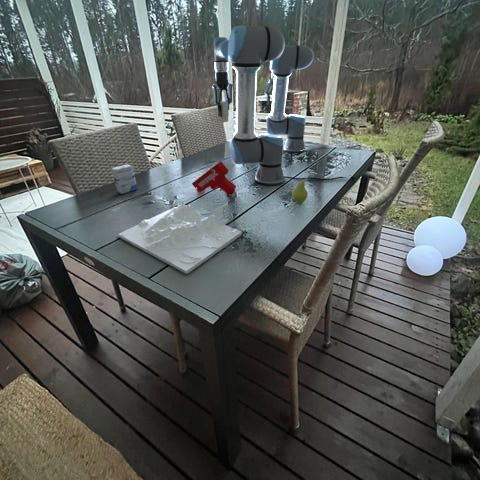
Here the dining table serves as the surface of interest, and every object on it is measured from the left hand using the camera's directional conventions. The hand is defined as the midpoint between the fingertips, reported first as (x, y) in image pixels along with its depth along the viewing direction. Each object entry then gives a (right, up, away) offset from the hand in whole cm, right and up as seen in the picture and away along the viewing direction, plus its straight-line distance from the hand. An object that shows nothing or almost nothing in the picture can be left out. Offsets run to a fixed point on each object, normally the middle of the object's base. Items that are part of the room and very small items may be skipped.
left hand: (223, 116), depth 166 cm
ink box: (-46, -51, -32) cm, 76 cm away
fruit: (+37, -59, -44) cm, 82 cm away
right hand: (+37, +29, +44) cm, 65 cm away
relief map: (-11, -75, -68) cm, 101 cm away
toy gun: (-2, -53, -35) cm, 64 cm away
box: (0, -3, +2) cm, 3 cm away
